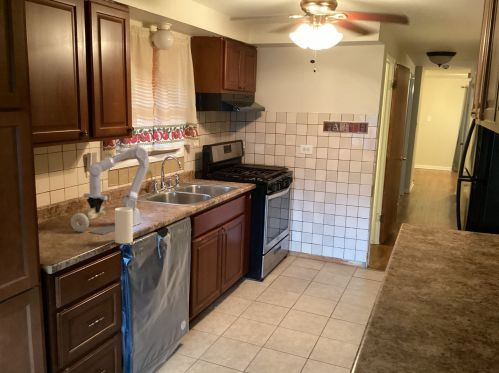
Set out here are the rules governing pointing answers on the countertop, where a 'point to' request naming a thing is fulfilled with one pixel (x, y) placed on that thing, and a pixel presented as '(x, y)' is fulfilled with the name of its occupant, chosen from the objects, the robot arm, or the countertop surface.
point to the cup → (123, 225)
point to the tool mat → (104, 230)
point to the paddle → (93, 214)
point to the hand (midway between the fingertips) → (95, 211)
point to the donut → (75, 222)
